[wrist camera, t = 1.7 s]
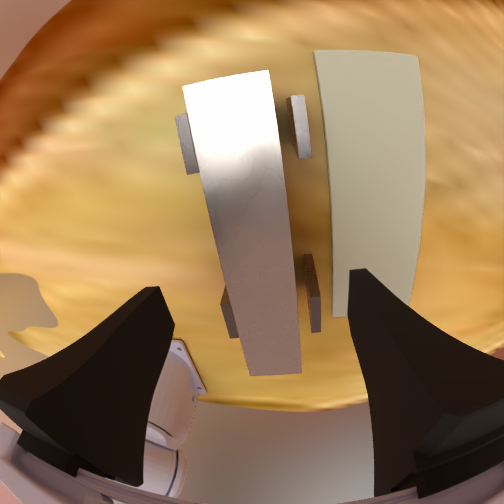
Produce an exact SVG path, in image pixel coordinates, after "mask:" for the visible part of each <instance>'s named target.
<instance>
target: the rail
mask: <svg viewBox="0 0 504 504" xmlns="http://www.w3.org/2000/svg"><path fill="white" fill-rule="evenodd" d="M183 91H184V97H185V102H186V107H187V112H188V118H189V123H190V128H191V133H192V138H193V143H194V148H195V152H196V157H197V162H198V167H199V171H200V176H201V181H202V185H203V190H204V194H205V199H206V203H207V208H208V212H209V217H210V221H211V225H212V230H213V234H214V238H215V242H216V246H217V251H218V255H219V259H220V263H221V267H222V271H223V275H224V279H225V283H226V287H227V291H228V295H229V299H230V303H231V307H232V311H233V314H234V318H235V322H236V326H237V329H238V333H239V337H240V341H241V344H242V348H243V352H244V355H245V359H246V362H247V366H248V370H249V373H250V376H264V375H283V374H297V373H302V368H301V351H300V335H299V320H298V307H297V294H296V283H295V271H294V260H293V250H292V240H291V231H290V221H289V212H288V204H287V195H286V187H285V179H284V171H283V163H282V156H281V149H280V141H279V134H278V127H277V121H276V114H275V108H274V101H273V95H272V89H271V83H270V77H269V71H268V70H265V71H258V72H251V73H245V74H239V75H233V76H227V77H222V78H217V79H212V80H208V81H203V82H199V83H195V84H191V85H187V86H183Z"/></svg>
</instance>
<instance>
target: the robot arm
mask: <svg viewBox="0 0 504 504" xmlns="http://www.w3.org/2000/svg"><path fill="white" fill-rule="evenodd" d="M347 315H348V320H349V326H350V331H351V336H352V340H353V343H354V346H355V350H356V353H357V356H358V360H359V363H360V367H361V370H362V374H363V377H364V381H365V384H366V389H367V393H368V399H369V407H370V414H371V423H372V433H373V448H374V498H369V499H364V500H358V501H353V502H346V503H339V504H504V360H501V359H498V358H495V357H493V356H490V355H488V354H486V353H483V352H481V351H479V350H477V349H475V348H473V347H471V346H469V345H466V344H465V343H463V342H461V341H459V340H457V339H456V338H454V337H452V336H450V335H449V334H447V333H445V332H444V331H442V330H440V329H439V328H437V327H436V326H434V325H433V324H432V323H430V322H429V321H427V320H426V319H424V318H423V317H422V316H420V315H419V314H418V313H416V312H415V311H414V310H413V309H411V308H410V307H409V306H407V305H406V304H405V303H404V302H403V301H401V300H400V299H399V298H398V297H397V296H396V295H395V294H393V293H392V292H391V291H390V290H389V289H388V288H387V287H386V286H385V285H383V284H382V283H381V282H380V281H379V280H378V279H377V278H376V277H375V276H374V275H373V274H372V273H370V272H369V271H368V270H367V269H366V268H362V269H353V270H349V292H348V309H347ZM174 327H175V324H174V321H173V319H172V316H171V314H170V312H169V309H168V307H167V304H166V302H165V300H164V297H163V295H162V292H161V290H160V287H159V286H155V287H145V288H144V289H142V290H141V291H140V292H138V293H137V294H136V295H134V296H133V297H132V298H131V299H129V300H128V301H127V302H126V303H125V304H123V305H122V306H121V307H120V308H119V309H117V310H116V311H115V312H114V313H113V314H111V315H110V316H109V317H108V318H106V319H105V320H104V321H103V322H101V323H100V324H99V325H98V326H96V327H95V328H94V329H92V330H91V331H90V332H89V333H87V334H86V335H84V336H83V337H82V338H80V339H79V340H77V341H76V342H74V343H73V344H71V345H70V346H68V347H66V348H65V349H63V350H61V351H59V352H58V353H56V354H54V355H52V356H50V357H49V358H47V359H45V360H42V361H41V362H38V363H36V364H34V365H31V366H29V367H27V368H24V369H21V370H18V371H15V372H13V373H9V374H6V375H4V376H3V377H2V378H1V380H0V409H1V410H2V411H3V412H4V413H5V414H6V415H7V416H8V417H9V418H10V419H11V420H12V421H13V422H15V423H16V424H17V425H18V426H19V427H20V428H21V429H23V431H22V433H21V434H19V433H18V432H17V431H15V430H14V429H12V428H10V427H9V426H8V425H6V424H4V423H1V425H0V481H1V482H2V483H3V484H4V485H5V486H6V487H7V488H8V490H9V491H10V492H11V493H12V494H13V495H14V496H15V497H16V498H17V499H18V500H19V501H20V502H21V503H22V504H208V503H201V502H194V501H188V500H183V499H178V498H177V497H178V496H179V494H180V492H181V490H182V488H183V485H184V482H185V479H186V474H187V460H186V458H185V456H184V453H183V451H182V450H180V449H177V448H178V446H179V445H181V444H182V443H183V442H184V441H185V440H186V438H187V437H188V435H189V432H190V428H191V423H192V419H193V415H194V411H195V406H196V402H197V398H198V395H205V394H206V389H205V387H204V385H203V383H202V381H201V379H200V377H199V375H198V373H197V371H196V369H195V367H194V365H193V363H192V361H191V358H190V356H189V354H188V352H187V350H186V348H185V345H184V343H183V342H182V341H180V340H172V337H173V332H174Z"/></svg>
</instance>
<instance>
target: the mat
mask: <svg viewBox="0 0 504 504" xmlns="http://www.w3.org/2000/svg"><path fill="white" fill-rule="evenodd" d="M313 56H314V62H315V68H316V74H317V81H318V87H319V94H320V101H321V109H322V117H323V125H324V134H325V144H326V154H327V166H328V179H329V194H330V212H331V237H332V317H333V318H336V317H344V316H348V315H347V309H348V292H349V270H353V269H362V268H366V269H367V270H368V271H369V272H370V273H372V274H373V275H374V276H375V277H376V278H377V279H378V280H379V281H380V282H381V283H382V284H383V285H385V286H386V287H387V288H388V289H389V290H390V291H391V292H392V293H393V294H395V295H396V296H397V297H398V298H399V299H400V300H401V301H403V302H404V303H405V304H406V305H407V306H409V302H410V297H411V293H412V288H413V282H414V277H415V271H416V265H417V259H418V252H419V245H420V237H421V229H422V219H423V207H424V192H425V161H426V150H425V120H424V105H423V94H422V85H421V77H420V69H419V63H418V57H417V55H410V54H402V53H393V52H382V51H365V50H314V51H313Z"/></svg>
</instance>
